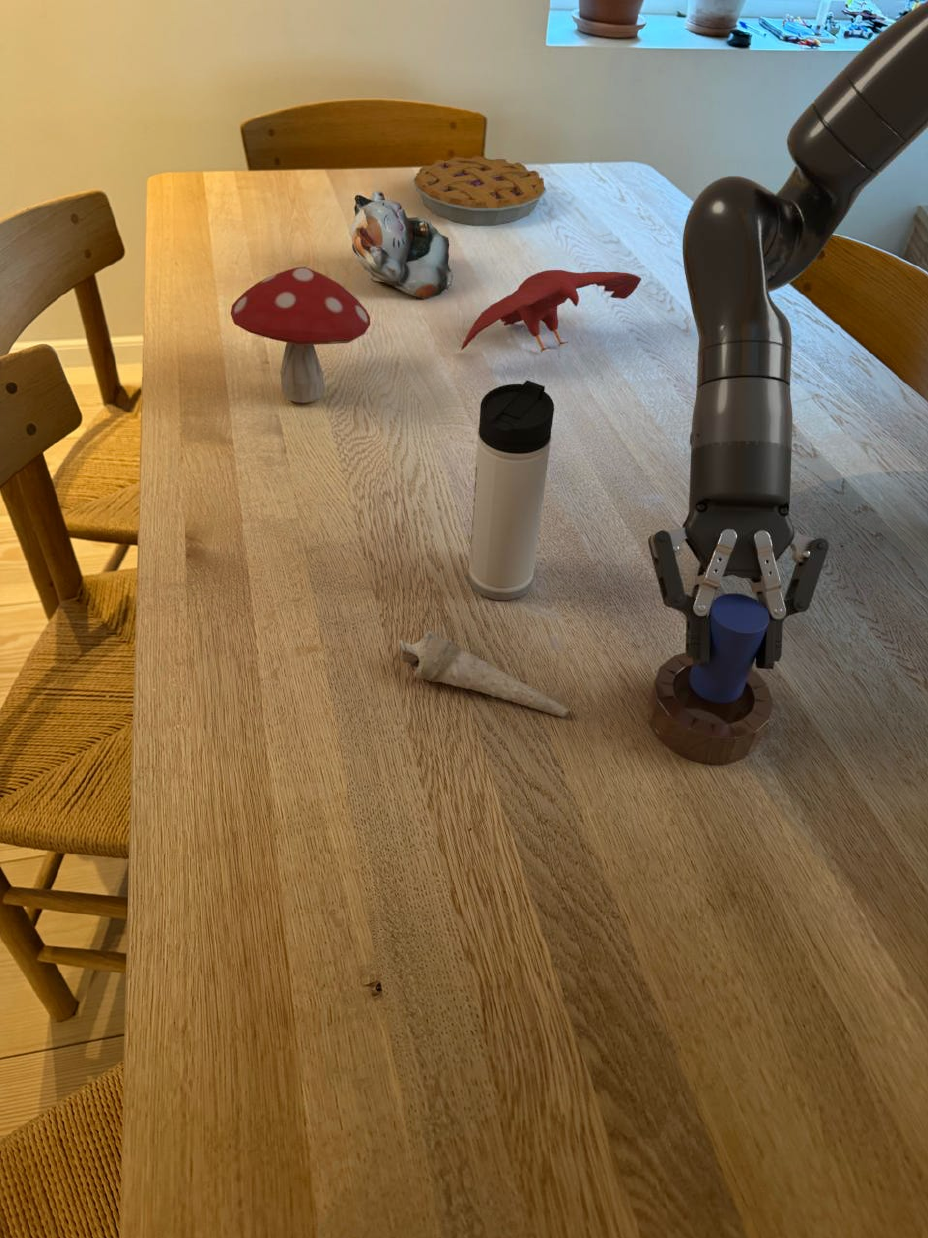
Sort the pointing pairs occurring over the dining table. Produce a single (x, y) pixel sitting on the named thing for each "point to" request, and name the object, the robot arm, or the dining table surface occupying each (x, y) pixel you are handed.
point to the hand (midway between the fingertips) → (733, 666)
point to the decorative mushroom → (301, 323)
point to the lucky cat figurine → (400, 247)
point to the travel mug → (509, 488)
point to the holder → (707, 716)
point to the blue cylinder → (730, 647)
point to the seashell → (470, 673)
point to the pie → (479, 190)
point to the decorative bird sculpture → (549, 299)
